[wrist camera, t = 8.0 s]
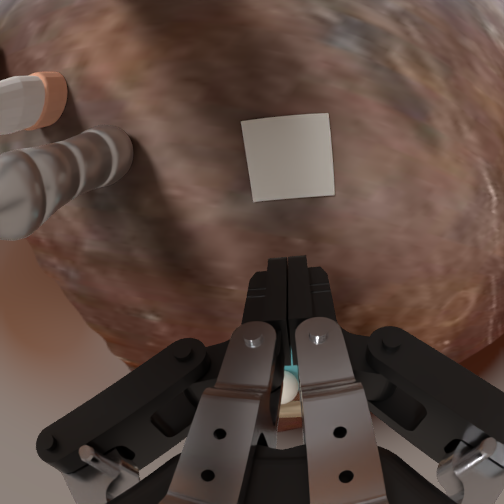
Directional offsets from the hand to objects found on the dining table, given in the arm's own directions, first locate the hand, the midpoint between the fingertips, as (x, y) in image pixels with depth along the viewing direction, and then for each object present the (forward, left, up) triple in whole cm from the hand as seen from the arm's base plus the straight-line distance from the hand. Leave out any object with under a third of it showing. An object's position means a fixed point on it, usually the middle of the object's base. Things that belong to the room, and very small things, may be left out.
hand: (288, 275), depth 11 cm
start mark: (-2, +1, -16) cm, 16 cm away
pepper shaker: (-16, -26, -17) cm, 35 cm away
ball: (+29, -3, -14) cm, 33 cm away
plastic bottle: (-6, -17, -17) cm, 25 cm away
